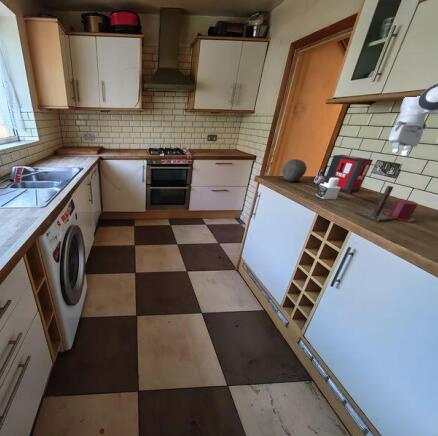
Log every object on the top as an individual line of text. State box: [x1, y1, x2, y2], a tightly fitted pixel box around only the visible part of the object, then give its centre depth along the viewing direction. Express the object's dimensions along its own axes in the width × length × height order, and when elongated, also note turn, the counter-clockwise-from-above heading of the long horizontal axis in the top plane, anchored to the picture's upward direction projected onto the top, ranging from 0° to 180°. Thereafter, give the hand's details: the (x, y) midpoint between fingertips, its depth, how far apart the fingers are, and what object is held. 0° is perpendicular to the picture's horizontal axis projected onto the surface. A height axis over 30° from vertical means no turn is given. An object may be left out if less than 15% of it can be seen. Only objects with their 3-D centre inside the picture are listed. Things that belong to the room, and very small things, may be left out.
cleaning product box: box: [322, 154, 373, 194], centre depth 144 cm, size 16×9×20 cm, turn 22°
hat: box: [382, 198, 418, 223], centre depth 106 cm, size 10×10×8 cm
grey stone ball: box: [281, 158, 308, 183], centre depth 158 cm, size 14×14×15 cm
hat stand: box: [357, 185, 395, 223], centre depth 104 cm, size 9×9×15 cm
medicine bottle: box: [315, 176, 340, 200], centre depth 129 cm, size 7×7×12 cm
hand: (399, 154), depth 110 cm, fingers open, 8 cm apart
